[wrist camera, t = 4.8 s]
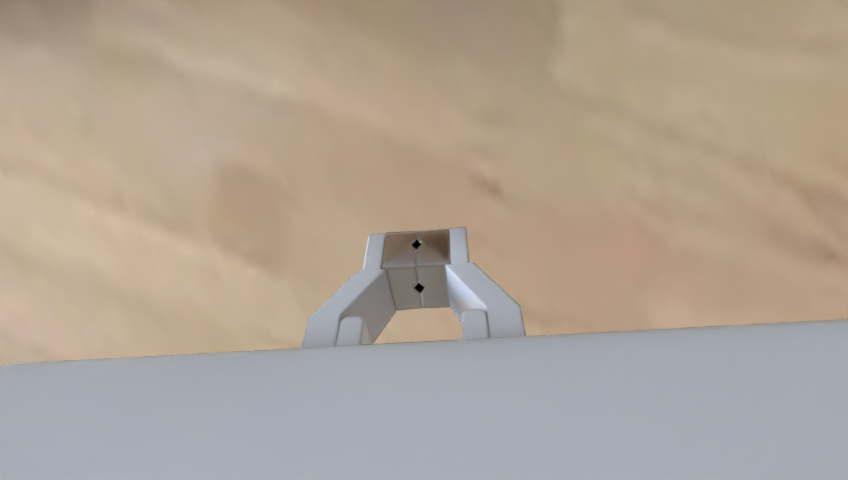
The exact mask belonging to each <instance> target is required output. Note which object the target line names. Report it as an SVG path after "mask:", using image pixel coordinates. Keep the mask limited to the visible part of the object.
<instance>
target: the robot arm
mask: <svg viewBox="0 0 848 480" xmlns="http://www.w3.org/2000/svg"><path fill="white" fill-rule="evenodd" d="M449 231H450V232H449ZM441 307H450V309H451V310H452V311H453V313H454V314H455V315H456V317H457V318H458V319H459V321H460V322H461V323H462V328H463V339H461V340H441V341H423V342H404V343H386V344H373V343H374V342H375V340H376V339H377V338H378V336H379V335H380V333H381V332H382V331H383V329H384V328H385V326H386V325H387V324H388V322H389V321H390V319H391V318H392V317H393V315H394V314H395V312H396V310H406V309H418V308H441ZM0 480H848V319H838V320H819V321H800V322H782V323H763V324H744V325H725V326H706V327H687V328H669V329H650V330H631V331H612V332H593V333H574V334H556V335H539V336H526V333H525V328H524V322H523V317H522V312H521V307H520V305H519V304H518V303H517V302H516V301H515V300H513V299H512V298H511V297H510V296H509V295H508V294H507V293H506V292H505V291H504V290H503V289H502V288H501V287H500V286H498V285H497V284H496V283H495V282H494V281H493V280H492V279H491V278H490V277H489V276H488V275H487V274H486V273H485V272H483V271H482V270H481V269H480V268H479V267H478V266H477V265H476V264H475V263H469V253H468V241H467V230H466V227H456V228H450V230H449V229H437V230H425V231H408V232H388V233H374V234H370V235H369V237H368V243H367V248H366V254H365V260H364V266H363V270H358V271H357V272H356V273H355V274H354V275H353V276H352V277H351V278H350V279H349V280H348V281H347V282H346V283H345V284H344V285H343V286H342V287H341V288H340V289H339V290H338V291H337V292H336V293H335V294H333V295H332V296H331V297H330V298H329V299H328V300H327V301H326V302H325V303H324V304H323V305H322V306H321V307H320V308H319V309H318V310H317V311H316V312H315V313H314V314H313V315H312V316H311V317H310V318H309V321H308V325H307V328H306V332H305V336H304V339H303V343H302V347H301V348H292V349H273V350H254V351H235V352H217V353H197V354H178V355H159V356H140V357H121V358H102V359H83V360H63V361H44V362H19V363H9V364H5V365H1V366H0Z"/></svg>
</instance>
